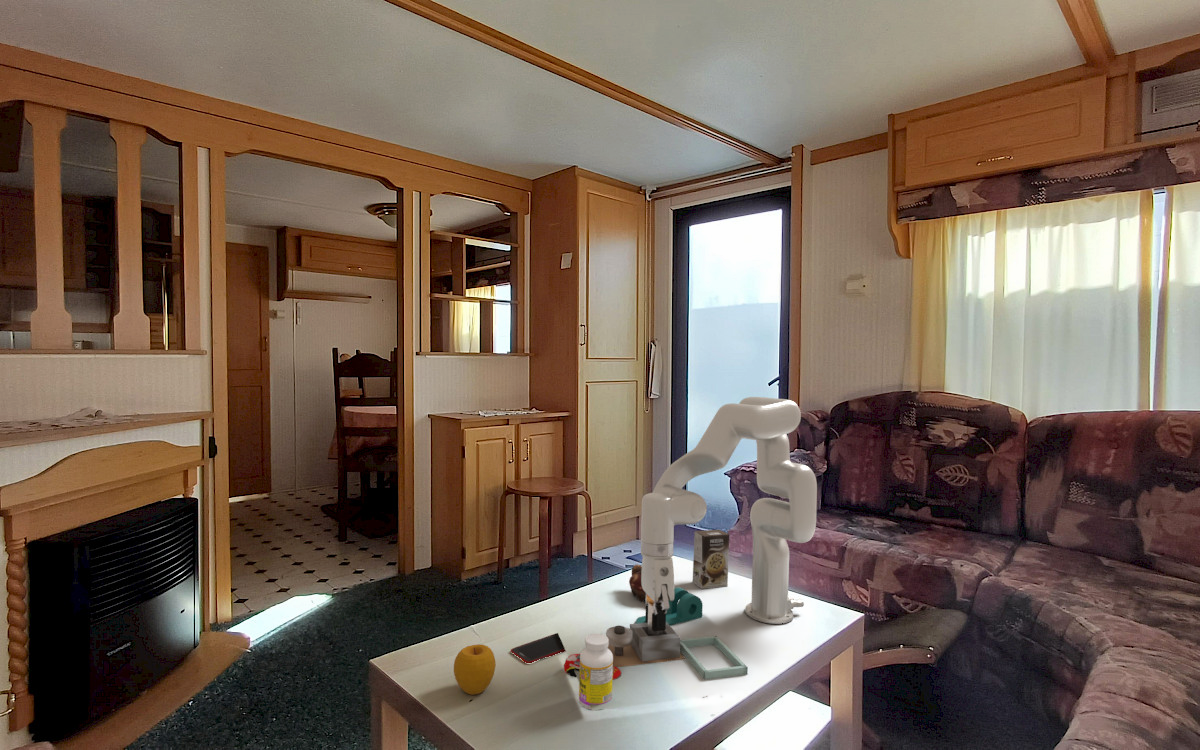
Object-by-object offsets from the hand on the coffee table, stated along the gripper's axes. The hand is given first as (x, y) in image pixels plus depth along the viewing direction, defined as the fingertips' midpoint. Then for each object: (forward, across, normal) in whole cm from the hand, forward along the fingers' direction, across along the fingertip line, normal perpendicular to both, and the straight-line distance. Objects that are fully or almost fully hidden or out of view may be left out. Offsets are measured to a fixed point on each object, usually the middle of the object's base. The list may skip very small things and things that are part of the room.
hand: (655, 625), depth 139 cm
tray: (+7, -7, -11) cm, 15 cm away
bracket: (+8, +15, -9) cm, 19 cm away
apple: (+7, -5, +41) cm, 42 cm away
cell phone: (+8, +9, +24) cm, 27 cm away
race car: (+8, -5, +16) cm, 19 cm away
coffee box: (+8, +39, -33) cm, 51 cm away
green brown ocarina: (+8, +33, -10) cm, 35 cm away
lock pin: (+5, 0, 0) cm, 5 cm away
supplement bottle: (+7, -15, +18) cm, 25 cm away
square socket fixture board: (+7, 0, +3) cm, 8 cm away
